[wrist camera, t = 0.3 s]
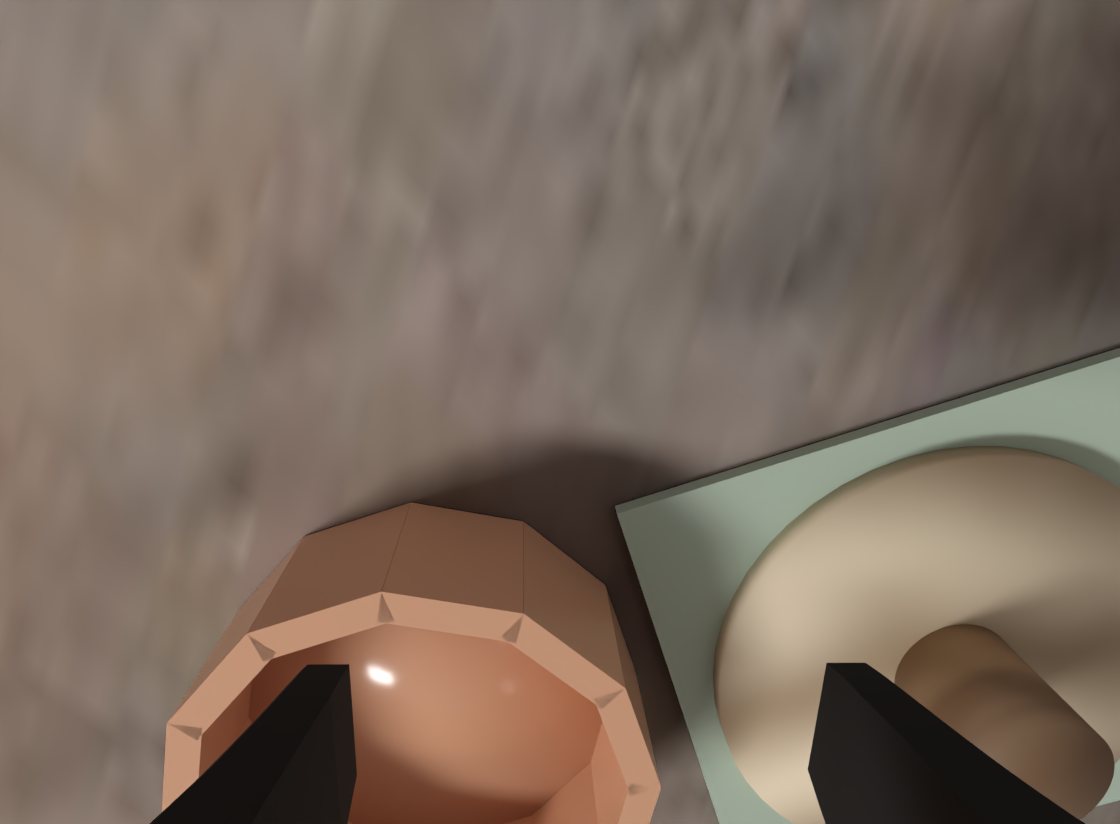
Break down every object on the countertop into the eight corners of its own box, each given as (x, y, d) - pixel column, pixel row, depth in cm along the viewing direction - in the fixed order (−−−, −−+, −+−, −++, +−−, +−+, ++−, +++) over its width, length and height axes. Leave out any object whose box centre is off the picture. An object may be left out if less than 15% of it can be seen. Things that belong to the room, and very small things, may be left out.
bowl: (671, 774, 24) (703, 905, 20) (332, 872, 25) (292, 1021, 20) (560, 454, 20) (570, 532, 16) (160, 581, 21) (67, 689, 17)
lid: (1172, 761, 24) (1322, 899, 20) (767, 876, 25) (821, 1033, 20) (1154, 379, 20) (1342, 444, 15) (660, 533, 21) (700, 638, 16)
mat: (1191, 764, 25) (1204, 776, 24) (741, 890, 26) (746, 903, 25) (1174, 330, 20) (1190, 334, 19) (614, 505, 21) (616, 513, 20)
